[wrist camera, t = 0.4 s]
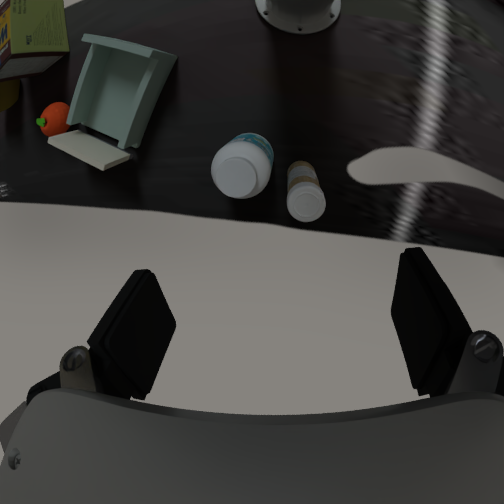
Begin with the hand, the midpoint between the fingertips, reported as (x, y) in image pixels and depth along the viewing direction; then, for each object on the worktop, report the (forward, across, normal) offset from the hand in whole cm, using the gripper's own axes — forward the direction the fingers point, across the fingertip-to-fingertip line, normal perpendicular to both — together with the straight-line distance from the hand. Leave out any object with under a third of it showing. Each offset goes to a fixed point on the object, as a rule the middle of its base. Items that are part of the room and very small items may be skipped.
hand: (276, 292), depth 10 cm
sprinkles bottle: (+36, -2, +6) cm, 36 cm away
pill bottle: (+36, +6, +2) cm, 36 cm away
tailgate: (+34, +30, -6) cm, 46 cm away
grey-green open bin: (+35, +25, -14) cm, 45 cm away
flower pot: (+36, +56, -29) cm, 72 cm away
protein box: (+36, +41, -35) cm, 65 cm away
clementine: (+36, +40, -15) cm, 55 cm away
